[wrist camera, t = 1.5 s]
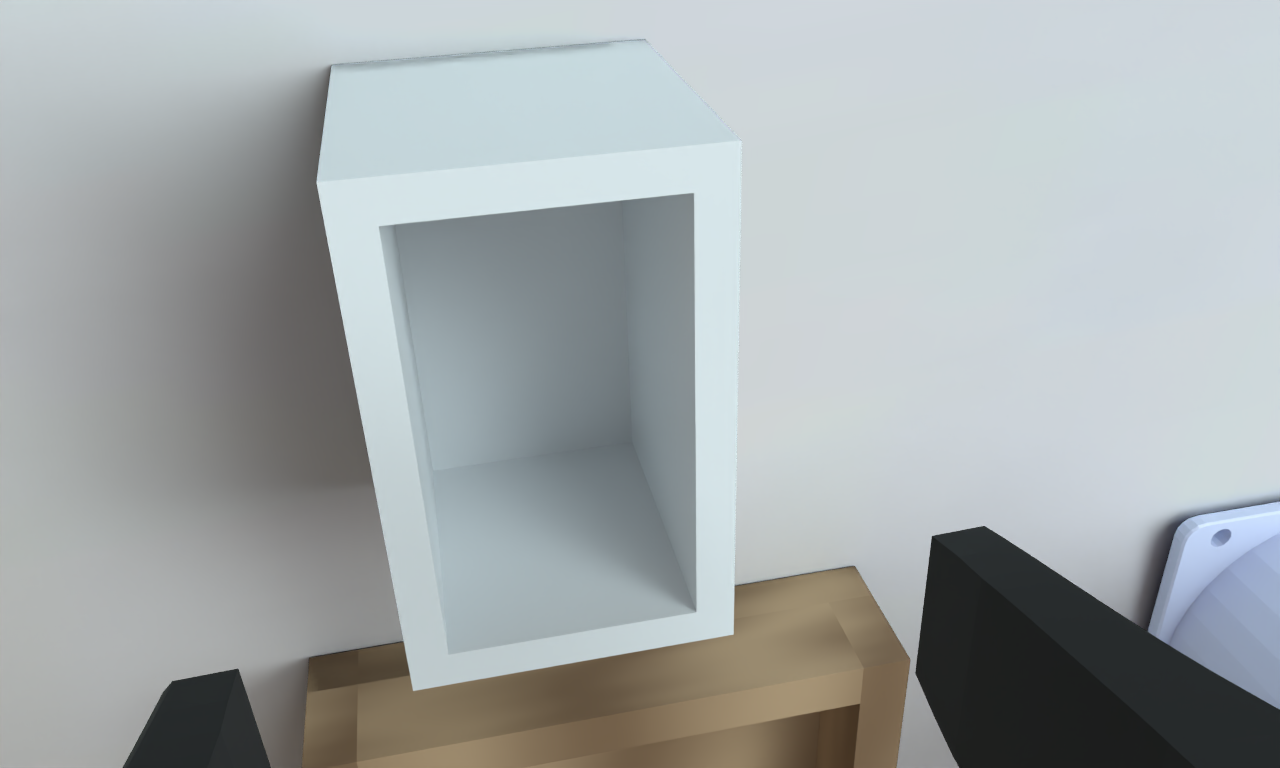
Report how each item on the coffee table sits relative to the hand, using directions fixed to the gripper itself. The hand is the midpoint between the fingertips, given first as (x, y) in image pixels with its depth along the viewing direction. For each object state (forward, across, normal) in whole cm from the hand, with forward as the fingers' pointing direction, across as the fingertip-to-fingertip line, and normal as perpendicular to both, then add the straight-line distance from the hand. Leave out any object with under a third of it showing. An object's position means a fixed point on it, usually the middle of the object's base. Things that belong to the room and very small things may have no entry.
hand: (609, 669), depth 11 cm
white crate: (+10, 0, 0) cm, 10 cm away
